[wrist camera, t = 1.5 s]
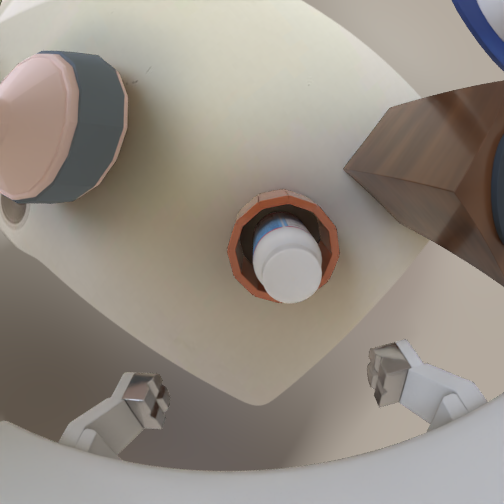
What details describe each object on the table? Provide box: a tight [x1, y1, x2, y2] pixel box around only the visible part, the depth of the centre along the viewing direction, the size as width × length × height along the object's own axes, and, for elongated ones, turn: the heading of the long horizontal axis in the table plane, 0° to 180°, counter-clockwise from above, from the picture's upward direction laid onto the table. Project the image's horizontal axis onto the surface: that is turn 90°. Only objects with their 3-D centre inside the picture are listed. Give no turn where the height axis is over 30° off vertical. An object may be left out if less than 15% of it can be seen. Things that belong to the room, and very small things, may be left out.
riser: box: [343, 81, 504, 286], centre depth 19 cm, size 10×10×19 cm
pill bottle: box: [253, 212, 322, 303], centre depth 26 cm, size 6×6×11 cm
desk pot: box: [227, 189, 340, 303], centre depth 29 cm, size 11×11×6 cm
